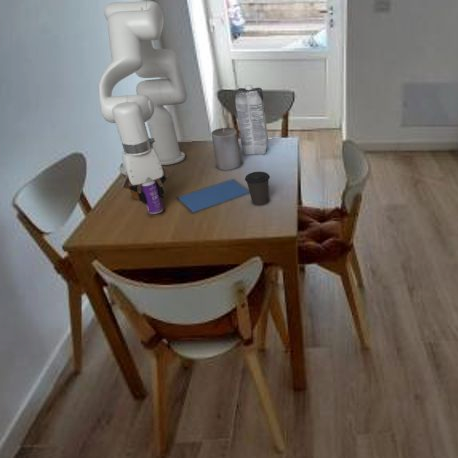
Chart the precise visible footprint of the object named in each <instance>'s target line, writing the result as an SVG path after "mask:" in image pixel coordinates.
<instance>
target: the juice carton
mask: <svg viewBox="0 0 458 458" xmlns="http://www.w3.org/2000/svg"><path fill="white" fill-rule="evenodd" d="M234 101H235V110H236V117H237V123H238V130H239V137H240V144H241V147H242V151H243V153H244V155H245V156H251V155H266V152H267V149H268V145H269V135H268V126H267V116H266V107H265V99H264V93H263V89H262V88H261V87H254V88H253V85H252V84H246V85H244V87H239V88H237V91H236V92H235V93H234Z"/></svg>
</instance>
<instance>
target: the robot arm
mask: <svg viewBox="0 0 458 458" xmlns="http://www.w3.org/2000/svg"><path fill="white" fill-rule="evenodd" d="M103 14H104V17H105V19H106V21H107V31H108V39H109V49H110V57H111V60H110V63H109V65H108V66H107V67H106V68H105V70H104V71H103V72H102V74H101V77H100V79H99V81H98V85H97V90H98V91H97V93H98V101H99V108H100V113H101V116H102V117H103V119H104V120H105V121H106V122H107V123H110V124H115V126H116V129H117V132H118V135H119V139H120V142H121V145H122V147H123V148H122V149H123V151H121V159H122V163H123V166H124V170H125V174H126V177H125V179H123V181H122V184H121V186H122V188H123V189H126V190H129V191H130V190H132V191H135V192H137V194H138V197H139V202H142V203H143V204H144V205H146V203H147V202H146V199H145V195H144V193H143V192H142V190H141V184H143V183H145V182H146V179H147V177H150V178H151V179H152V180H155V181H156V184H157V188H158V191H159V195H160V198H161V199H164V198H165V197H164V195H165V192H164V188H163V186H164V183H165V182H166V180H167V178H168V177H169V176H170V174H171V172H170V171H169V170H168V169H166V168H165V167H164V166H169V165H174V164H178V163H180V162H182V161H184V159H186V154H185V152H184V151H181V149H180V145H179V141H178V140H179V139H178V137H177V131H176V127H175V123H174V120H173V115H172V114H171V112H170V111H169V110H168V108H166V107H165V106H173V105H182V104H184V103H185V102H186V101H187V97H188V95H187V89H186V84H185V81H184V77H183V72H182V68H181V64H180V60H179V57H178V55H177V53H176V52H175V51H174V50H173V49H171V48H155V47H154V44H153V41H157V40H159V39H160V38H161V36H162V33H163V28H164V21H165V20H164V19H165V18H164V12H163V10H162V8H161V6H160V5H159V3H157V2H156V1H153V0H143V1H142V0H141V1H116V2H110V3H107V4H105V6H104V7H103ZM134 73H135V75H136V77H139V78H142V79H145V80H141V81H140V82H138V83H136V87H135V93H136V94H131V95H128V94H127V95H116V96H115V95H114V96H113V95H112V93H113V90H114V88H115V86H116V85H117V84H118V83H119V82H121V81H122V80H125V78H127V77H129V76H130V75H133V74H134ZM146 123H147V126H146ZM147 128H148V129H147ZM148 132H149V133H148ZM149 135H150V136H149ZM129 182H131V184H132V185H130V184H129ZM133 185H134V186H133Z"/></svg>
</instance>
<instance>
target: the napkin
mask: <svg viewBox="0 0 458 458" xmlns="http://www.w3.org/2000/svg"><path fill="white" fill-rule="evenodd" d="M248 194H250V192H249V189H246V188H245V187H244V186H242V185H241V184H239V183H238V182H236V180H234V179H229V180H227V181H223V182H221V183H220V182H219V183H217V184H214V185H211V186H208V187H206V188H205V187H204V188H202V189H199V190H196V191H193V192H189V193H187V194H184V195H181V196H178V197H177V199H178V200H179V201H180V202H181V203H182V204H183V205H184V206H185V207H186V208H188V209H189V211H191V212H192V213H196V212H199V211H202V210H205V209H208V208H210V207H213V206H216V205H219V204H223V203H224V202H228V201H230V200H233V199H235V198H238V197H242V196H244V195H248Z"/></svg>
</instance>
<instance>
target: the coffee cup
mask: <svg viewBox="0 0 458 458" xmlns="http://www.w3.org/2000/svg"><path fill="white" fill-rule="evenodd" d="M270 178H271V176H270V175H269V173H267V172H266V171H253V172H250V173H248V174H246V175H245V177H244V181H245V182H246V184H247V187H248V191H249V192H250V193H249V195H250V199H251V202H252V204H253V205H254V206H264V205H266V204H268V203H269V180H270Z"/></svg>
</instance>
